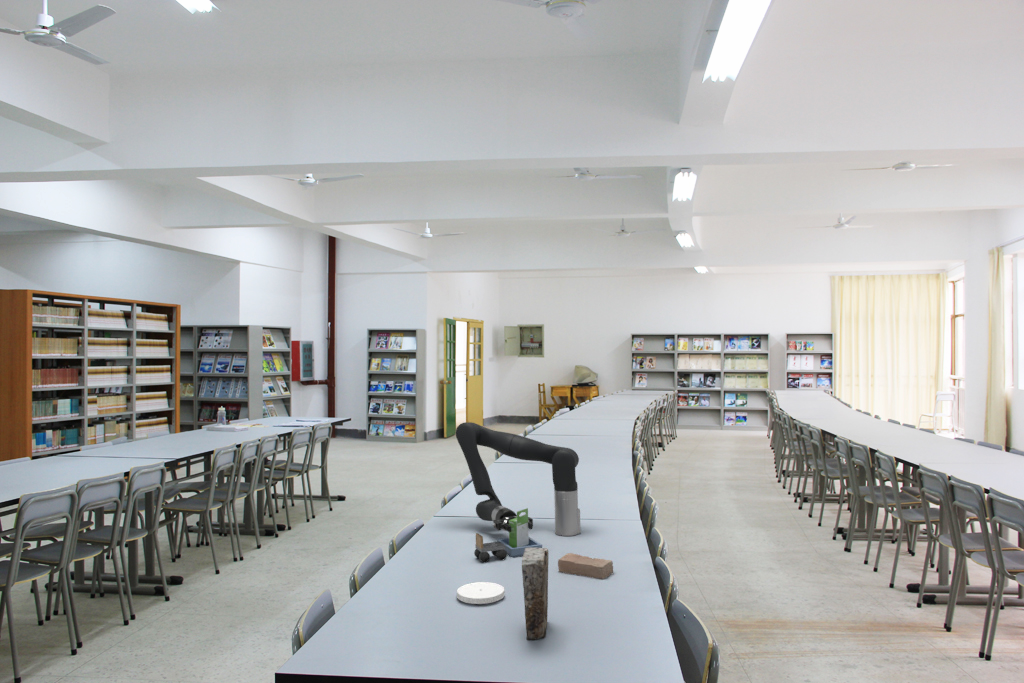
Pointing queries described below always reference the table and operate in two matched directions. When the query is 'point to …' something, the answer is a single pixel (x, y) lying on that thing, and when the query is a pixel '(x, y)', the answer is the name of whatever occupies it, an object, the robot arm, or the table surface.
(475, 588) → the plastic lid
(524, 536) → the ink box
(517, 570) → the table surface
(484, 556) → the trolley
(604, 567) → the brick
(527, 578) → the stone block
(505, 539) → the tray
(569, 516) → the robot arm
